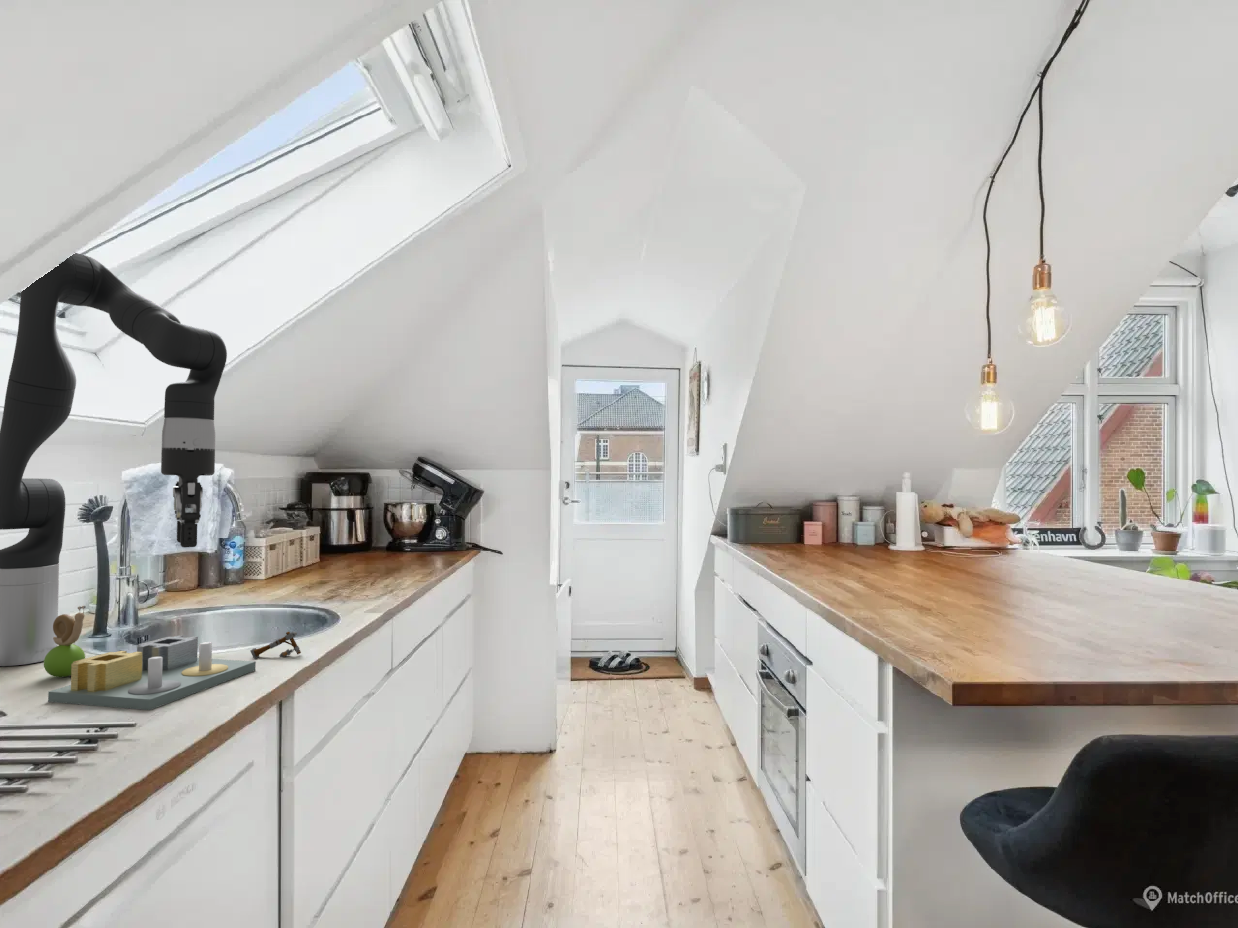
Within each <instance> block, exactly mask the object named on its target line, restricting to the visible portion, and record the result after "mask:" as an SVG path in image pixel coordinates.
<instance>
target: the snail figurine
mask: <svg viewBox="0 0 1238 928" xmlns="http://www.w3.org/2000/svg"><path fill="white" fill-rule="evenodd" d="M86 608H87V607H86V605H81V606H80V605H79V606H77V609H78V610H79V612H77V613H76V614H75V615H74V618H73V616H72V615H69V614H66V613H65V614H64V613H63V614H60V615H58V617H57V618H56V619H55V621H54V623H53V631H54V633H55V635H56V636H57V637H53V640H54V642H55V643H56V644H57V646H56V647H55V648H53V649H52V650H50V651H49V652H48V653H47V655H46V656H45V659H44V661H43V668H44V670H45V672H46V673H47V674H48V675H50V676H52V677H54V678H67V677H71V664H73V662H74V661H78V660H82V659H85V658H86V653H85V651H84V650H83V649H82V648H81V647H80V646H78V645H77V644H75V643H76V642H77V641H78V640H79V639H80V636H81V634H82V631H83V630H82V629H83V625H84V619H85V617H86V616H85V614H84V613H85V609H86ZM81 610H83V612H81Z"/></svg>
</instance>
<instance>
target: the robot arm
mask: <svg viewBox="0 0 1238 928" xmlns="http://www.w3.org/2000/svg"><path fill="white" fill-rule="evenodd" d="M74 253H75V254H73V255H72V256H70V257H69V258H67V259H66V260H65V261H64V262H62V263H61V264H59V266H57V267H55V268H54V269H53V270H51V271H50V272H48V273H47V274H45V275H44V276H43V277H41V278H39V279H38V280H36V281H35V282H34V283H32V284H31V285H30V286H29V287H27V288H26V289H25V290H23V291H22V292H21V291H20V300H19V301H20V303H19V315H18V328H17V333H16V334H17V336H16V341H15V347H14V353H13V358H12V363H11V367H10V372H9V376H8V381H7V387H6V392H5V398H4V405H3V406H4V407H3V413H2V417H1V422H0V423H1V424H0V531H1V530H4V531H5V530H7V531H8V530H23V529H25V530H26V529H28V533H27V534H26V536H25V537H24V538H22V539H21V540H19V541H18V542H17V543H14V544H12V545H9V546H8V547H4V548H1V549H0V667H10V666H13V667H14V666H19V665H29V664H34V663H40V662H44V659H45V656H46V655H47V653H48V652H49V651H50V650H52V649H53V648H55V647H56V646H58V644H56V643H55V642H54V640H53V637H57V636H56V635H55V633H54V631H53V623H54V621H55V619H56V618H57V617H58V616H59V585H60V584H59V583H60V581H59V579H60V572H59V571H60V556H61V555H60V554H61V551H62V549H63V542H64V541H63V540H64V529H65V528H64V526H65V517H66V495H65V490H64V488H63V485H61V483H59V482H58V480H56V479H53V478H23V476H24V473H25V471H26V468H27V466H28V463H29V461H30V460H31V457H32V456H33V455H34V454H35V452H36V451H37V450H38V449H39V448H40V447H41V445H43V444H44V443H45V442H46V441H47V440H48V439H49V438H50V437H51V436H52V435H53V434H54V433H55V432H56V431H57V430H58V429H59V428H61V426H62V425H64V423H65V422H66V420H67V419H68V418H69V416H70V414H71V411H72V408H73V402H74V398H75V393H76V387H77V376H76V373H75V369H74V367H73V365H72V362H71V360H70V359H69V356H68V355H67V352H66V351H65V349H64V347H63V345H62V342H61V340H60V337H59V335H58V330H57V308H58V304H59V303H62V304H67V305H71V306H77V307H88V308H92V309H95V310H99V311H101V312H104V313H107V314H108V315H109V318H110V320H111V322H112V324H114V326H115V327H116V328H117V329H118V330H119V331H120V332H122V333H123V334H125V335H126V336H128V337H130V338H131V339H133V340H135V341H137V343H140V344H141V345H143V347H145V349H147V351H148V352H149V353H150V354H151V355H152V357H154V358H155V359H157V361H159V362H162V363H164V364H166V365H168V366H171V367H175V368H181V369H185V370H187V369H188V370H189V374H188V376H187V378H186V380H185V382H182V381H181V382H175V383H174V382H173V383H171V384H169V385H167V387H165V392H164V410H163V411H164V413H163V414H164V415H163V417H164V418H163V426H162V430H161V431H162V433H161V457H160V458H161V460H160V462H161V463H160V473H161V475H163V476H177V477H178V480H177V481H176V482H175V486H173V488H172V496H173V510H174V515H175V520H176V542H178V543H179V545H180V547H182V548H195V547H197V545H198V524H199V523H200V519H201V512H202V505H203V504H202V498H203V493H204V491H203V489H204V488H203V486H202V484H201V482H199V481H198V478H199V477H200V476H213V475H214V474H215V471H216V469H215V468H216V467H215V464H216V429H215V397H216V394H217V390H218V389H219V385H220V382H221V379H222V376H223V373H224V370H225V366H226V364H227V358H228V351H227V347H226V344H225V341H224V340H223V338H222V336H220V335H219V334H218V333H216V332H214V331H212V330H208V329H204V328H200V327H196V326H195V327H194V326H191V325H186V324H183V323H181V321H180V319H179V318H178V317H177V316H176V315H175V314H173V312H170V311H169V310H168V309H166V308H164V307H162V306H161V305H159V304H157V303H156V302H153V301H152V300H150V299H148V298H146V297H145V296H142V295H141V294H140V293H137V292H136V291H135V290H133V289H132V288H131V287H129V285H127V284H126V283H125V282H123V281H122V280H121V279H119V277H117V276H116V275H115V274H114V273H113V272H112V271H111V270H110V269H109V268H107V267H106V266H105V265H104V264H103V263H101V262H100V261H98V260H97V259H95V258H93V257H91V256H88V255H86V254H85V255H84V254H82V253H78V252H74Z"/></svg>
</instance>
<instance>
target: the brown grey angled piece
mask: <svg viewBox="0 0 1238 928" xmlns="http://www.w3.org/2000/svg"><path fill="white" fill-rule="evenodd" d="M297 635H298V632H297V631H292V632H290V631H287V632H286V633H285V635H284V637H281V638H278V639H276V640H275V641H273V642H270V643H269V644H267V645H265V646H262V647H259V648H256V647H255V648H254V647H253V648H252V649H250V654H251V655H252V658H253V660H256V659H258V658H260V655H261V654H263V653H265V652H267V651H269V650H270V649H271V650H272V649H274V648H276V647H279V646H280V645H282V644H284V643H286V644H288V645H289V646H291V647H292V648H293V649H292V648H291V649H289V648H287V649H286V650H285V651H282V652H280V653H279V657H280V658H285V657H287V656H290V655H292V654H291V653H293V652H295V653H296V655H300V654H301V653H302V652H301V649H300V647H299V645H298V644H297V642H296V640H295V639H294V638H295V637H296V636H297ZM289 641H290V642H289ZM284 656H285V657H284Z"/></svg>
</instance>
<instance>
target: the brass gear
mask: <svg viewBox="0 0 1238 928" xmlns="http://www.w3.org/2000/svg"><path fill="white" fill-rule="evenodd" d="M141 677H142V652H137V651H135V652H127V650H117V651H115V652H114V651H109V652H105V653H101V654H98V655H94V656H93V655H92V656H90V657H85V659H82V660H78V661H74V662H73V664H71V676H70V685H71V691H80V690H83V689H87V692H97V691H100V690H101V691H107V690H110V689H113V688H116V687H119V686H122V685H125V684H128V683H131V682H134V681H138V680H141Z"/></svg>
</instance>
